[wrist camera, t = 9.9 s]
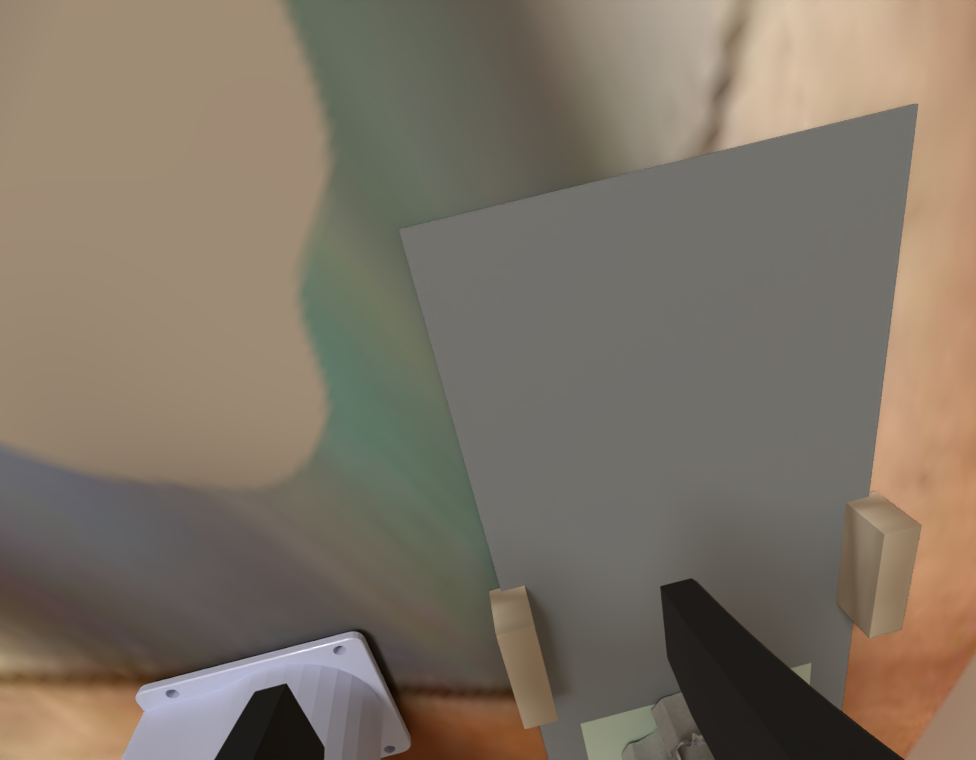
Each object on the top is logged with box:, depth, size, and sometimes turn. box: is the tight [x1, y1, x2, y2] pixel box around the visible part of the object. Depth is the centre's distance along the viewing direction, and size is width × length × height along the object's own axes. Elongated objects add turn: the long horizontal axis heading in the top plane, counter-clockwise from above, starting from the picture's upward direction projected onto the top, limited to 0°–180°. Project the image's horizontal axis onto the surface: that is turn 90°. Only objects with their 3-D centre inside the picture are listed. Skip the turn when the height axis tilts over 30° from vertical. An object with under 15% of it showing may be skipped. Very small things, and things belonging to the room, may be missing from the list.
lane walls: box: [489, 491, 922, 729], centre depth 22 cm, size 17×6×2 cm, turn 102°
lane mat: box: [399, 104, 918, 760], centre depth 23 cm, size 16×37×1 cm, turn 12°
